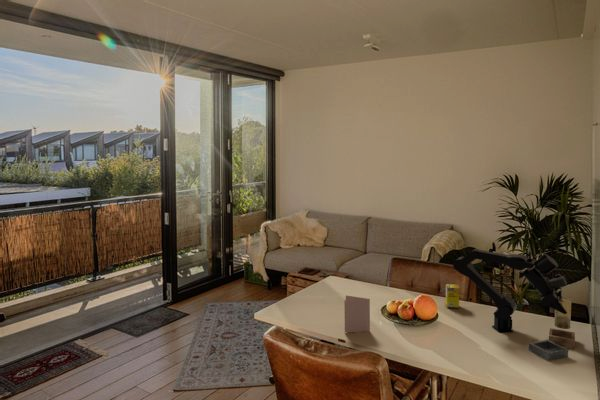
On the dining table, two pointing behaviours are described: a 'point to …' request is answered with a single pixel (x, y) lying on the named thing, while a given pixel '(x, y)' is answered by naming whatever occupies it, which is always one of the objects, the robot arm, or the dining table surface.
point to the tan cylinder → (561, 318)
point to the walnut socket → (562, 337)
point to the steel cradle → (548, 350)
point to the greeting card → (357, 314)
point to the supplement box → (452, 296)
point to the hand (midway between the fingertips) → (567, 311)
